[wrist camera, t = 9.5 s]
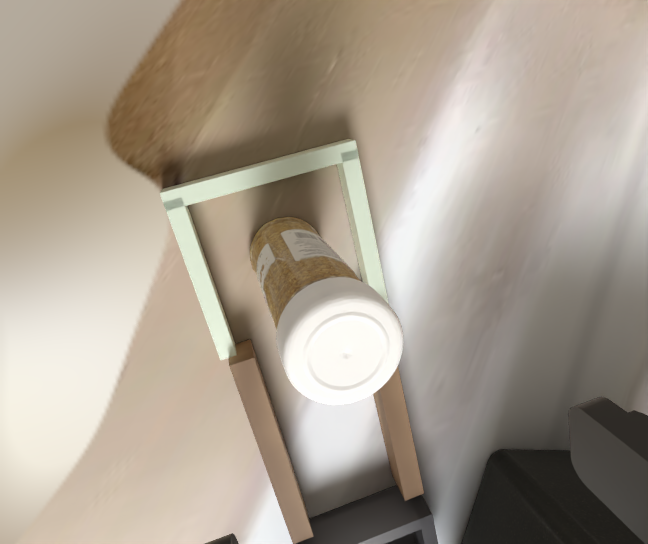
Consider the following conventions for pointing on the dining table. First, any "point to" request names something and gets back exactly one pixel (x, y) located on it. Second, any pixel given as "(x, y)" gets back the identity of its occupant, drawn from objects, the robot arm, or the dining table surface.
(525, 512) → the flower pot
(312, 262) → the sprinkles bottle
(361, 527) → the bin
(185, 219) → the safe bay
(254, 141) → the dining table surface
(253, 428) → the channel
